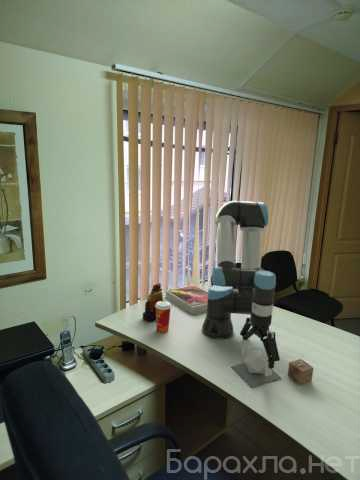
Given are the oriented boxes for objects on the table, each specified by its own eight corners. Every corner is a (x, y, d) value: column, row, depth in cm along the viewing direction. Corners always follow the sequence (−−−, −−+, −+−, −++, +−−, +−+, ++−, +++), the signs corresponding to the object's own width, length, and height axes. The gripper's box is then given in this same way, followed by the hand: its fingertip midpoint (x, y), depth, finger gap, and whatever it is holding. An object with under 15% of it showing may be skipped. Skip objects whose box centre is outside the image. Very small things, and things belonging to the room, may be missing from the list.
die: (261, 383, 109) (275, 360, 110) (241, 369, 110) (255, 346, 111) (256, 376, 117) (269, 355, 118) (238, 363, 118) (251, 343, 120)
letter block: (287, 376, 114) (289, 361, 113) (299, 372, 116) (300, 358, 115) (299, 386, 109) (301, 370, 107) (311, 381, 111) (313, 367, 110)
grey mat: (230, 367, 118) (230, 366, 118) (259, 359, 124) (259, 358, 123) (251, 388, 106) (251, 386, 106) (281, 378, 112) (281, 377, 112)
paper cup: (154, 326, 148) (155, 300, 145) (170, 326, 148) (170, 300, 146) (154, 334, 140) (155, 307, 137) (170, 334, 141) (171, 307, 138)
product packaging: (193, 315, 162) (193, 307, 161) (165, 298, 185) (166, 290, 184) (222, 307, 174) (223, 299, 174) (193, 292, 197) (193, 284, 196)
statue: (156, 312, 163) (157, 278, 159) (164, 318, 157) (165, 282, 153) (137, 318, 155) (137, 282, 151) (145, 324, 149) (146, 287, 146)
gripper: (233, 301, 120) (229, 349, 124) (277, 330, 97) (270, 387, 102) (248, 298, 123) (244, 345, 127) (294, 326, 100) (287, 381, 105)
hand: (256, 364), depth 114 cm, fingers open, 13 cm apart
